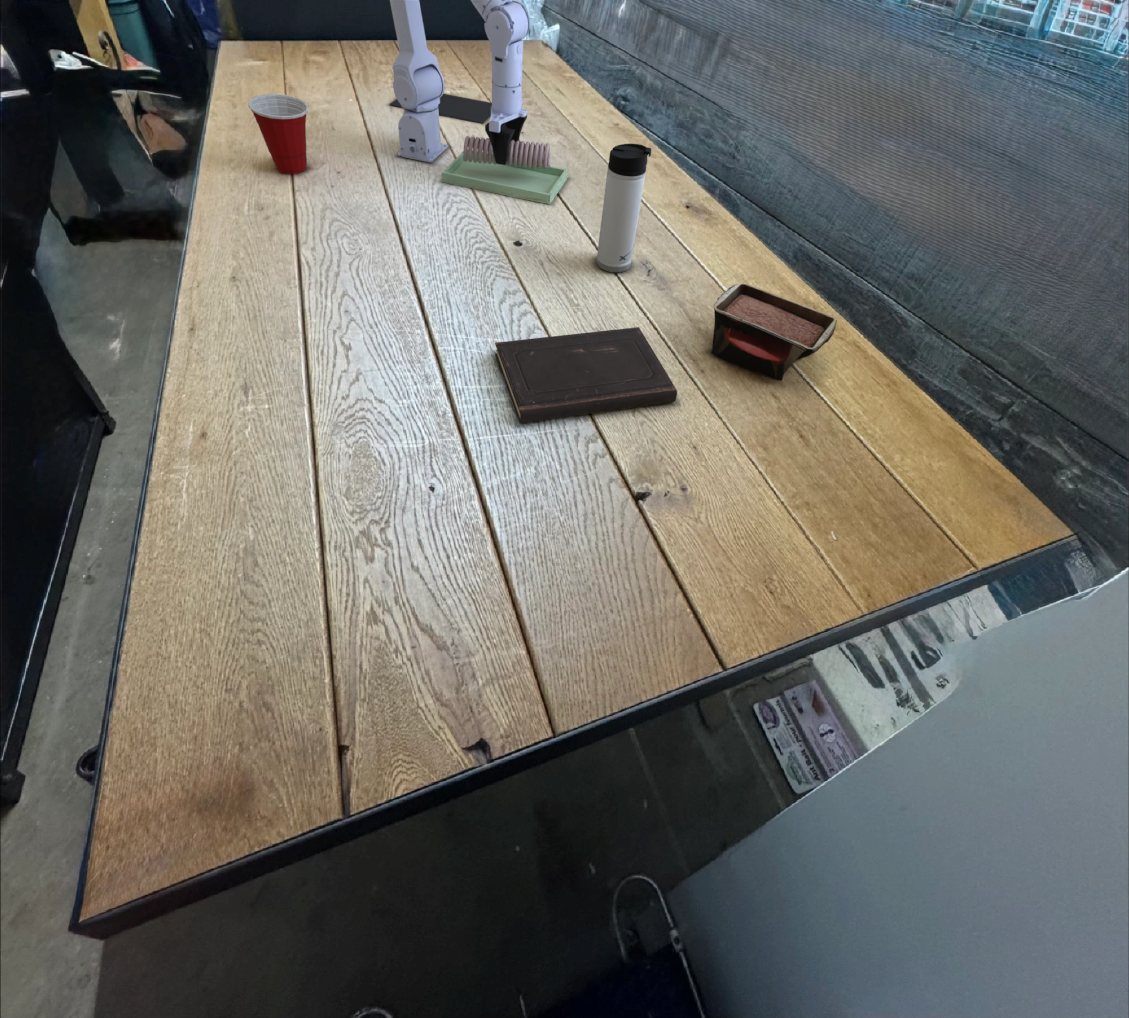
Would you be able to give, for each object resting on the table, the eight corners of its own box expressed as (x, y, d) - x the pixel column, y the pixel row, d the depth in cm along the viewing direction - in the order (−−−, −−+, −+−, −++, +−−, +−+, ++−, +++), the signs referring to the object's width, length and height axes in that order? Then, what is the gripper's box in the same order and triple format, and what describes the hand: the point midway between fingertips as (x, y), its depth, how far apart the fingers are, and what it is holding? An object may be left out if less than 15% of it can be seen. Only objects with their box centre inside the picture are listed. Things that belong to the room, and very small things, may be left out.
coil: (551, 140, 134) (463, 132, 133) (551, 147, 130) (461, 138, 129) (550, 165, 137) (464, 157, 136) (550, 172, 133) (461, 164, 132)
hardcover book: (495, 355, 98) (495, 342, 97) (636, 339, 104) (639, 326, 102) (520, 425, 89) (520, 413, 87) (674, 404, 94) (678, 391, 92)
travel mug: (629, 276, 116) (649, 157, 101) (593, 269, 117) (607, 150, 101) (634, 258, 120) (653, 142, 105) (599, 252, 121) (613, 136, 105)
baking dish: (738, 323, 113) (744, 269, 105) (838, 354, 104) (853, 297, 97) (693, 365, 106) (697, 310, 98) (797, 403, 97) (809, 345, 90)
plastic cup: (312, 182, 130) (298, 115, 121) (257, 177, 129) (239, 110, 120) (326, 159, 137) (314, 95, 128) (274, 154, 136) (258, 89, 127)
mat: (482, 123, 156) (482, 122, 156) (389, 105, 159) (389, 104, 158) (500, 105, 164) (500, 104, 164) (412, 88, 167) (411, 87, 167)
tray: (549, 204, 132) (550, 195, 130) (442, 182, 134) (441, 172, 133) (567, 178, 140) (568, 169, 138) (465, 157, 143) (465, 148, 141)
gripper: (514, 98, 118) (513, 175, 129) (538, 74, 128) (535, 148, 138) (478, 91, 119) (479, 168, 129) (504, 68, 128) (503, 142, 139)
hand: (505, 157), depth 134 cm, fingers closed on coil, 5 cm apart
